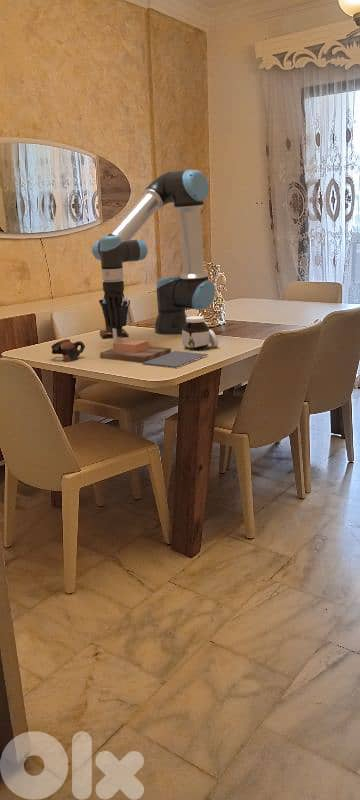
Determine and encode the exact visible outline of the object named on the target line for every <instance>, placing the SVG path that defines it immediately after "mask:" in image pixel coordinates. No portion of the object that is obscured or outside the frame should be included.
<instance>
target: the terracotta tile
mask: <svg viewBox="0 0 360 800" xmlns="http://www.w3.org/2000/svg"><path fill="white" fill-rule="evenodd" d="M149 346H150V344H149V340H146V339H145V340H143V339H142V340H141V339H133V338H132V339H131V338H125V339H121V341H118V342H114V343H113V342H112V349H113V350H114V351H118V352H128V353H138V352H141V351H144V350H147V349H149Z"/></svg>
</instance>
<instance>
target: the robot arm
mask: <svg viewBox="0 0 360 800" xmlns="http://www.w3.org/2000/svg"><path fill="white" fill-rule="evenodd" d="M209 192H210V186H209V181H208V179H207V177H206V175H204V173H203V172H202V171H200V170H198V169H185V170H176V171H168V172H165V173H163V174H161V175H159V176H158V177H157V178H155V179H154V180H153V181H152V182H151V183H150V184H148V186H147V187H146V188H145V189H144V190H143V191H142V194H141V195H142V196H141V198H139V200H138V201H137V202H136V203H135V204H134V205H133V206H132V208H131V209H130V210H129V211H128V212H127V213H126V214H125V216H123V218H122V219H121V220H120V221H119V222H118V224H117V225H116V226H115V227H114V228H113V229H112V230H111V231H110V232H109V234H107V236H101V237H100V238H99V240H96V241H95V242H94V243H93V244H92V246H91V247H92V248H91V249H92V251H91V252H92V255H93V257H94V258H95V259H97V260H98V261H100V265H101V278H102V281H103V282H102V291H103V292H104V295H103V298H101V299H99V300H98V303H99V305H100V307H101V309H102V314H103V317H104V322H106V325H107V326H110V327H111V333H110V334H111V337H112V341H113V342H112V344H113V343H114V342H118V341H121V340H122V336H123V333H122V328H123V327H126V326H127V321H128V320H127V319H128V313H129V312H128V311H129V306H130V304H131V300H129V299H128V300H127V299H126V297H125V293H124V291H125V283H124V281H123V280H124V267H123V263H129V262H138V261H142V260H144V259H145V258H147V255H148V246H147V243H146V242H145V241H144V240H142V239H133V238H134V237H135V235H137V233H138V232H139V231H140V230H141V228H142V227H143V226H144V225H145V224H146V223H147V222H148V221H149V220H150V218H151V217H152V216H153V215H154V214H155V212H156V211H159V210H161V209H162V208H164V206H165V205H168V204H171V203H173V206H174V209H175V210H176V211H177V213H178V221H179V233H180V245H181V247H180V248H181V260H182V261H181V262H182V274H181V275H177V276H171V277H164V278H159V279H158V280H157V281H156V289H155V290H156V299H157V300H156V301H157V318H156V321H155V325H154V332H155V333H156V334H160V335H161V334H162V335H176V334H182V328H183V326H184V325H185V324H186V323H187V322H186V318H187V317H188V316H187V314H186V309H191V310H206V309H207V308H209V307H210V306H211V305H212V304H213V302H214V299H215V296H216V286H215V284H214V283H213V282H212V281H211V280H210V279H209V274H208V273H207V272H206V271H205V264H204V249H203V245H204V244H203V235H202V234H203V232H202V218H201V216H202V215H201V210H202V208H203V207H204V201H205V200H206V199H207V197H208V195H209Z"/></svg>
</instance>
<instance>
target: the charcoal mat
mask: <svg viewBox="0 0 360 800" xmlns="http://www.w3.org/2000/svg"><path fill="white" fill-rule="evenodd" d="M206 355H208V356H209V354H208V353H199V352H189V351H178V350H174V351H171V353H168V354H165V355H163V356H160V357H157V358H154V359H152V360H149V361H146V362H143V363H142V365H144V366H152V365H157V366H156V367H161V366H168V367H167V368H170V367H179V366H181V365H184V364H186V363H188V362H191V361H193V360H195V359H198V358H201V357H203V356H206ZM206 357H207V356H206ZM201 359H202V358H201ZM191 363H192V362H191ZM186 365H187V364H186ZM184 366H185V365H184ZM181 367H182V366H181ZM179 368H180V367H179Z"/></svg>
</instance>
